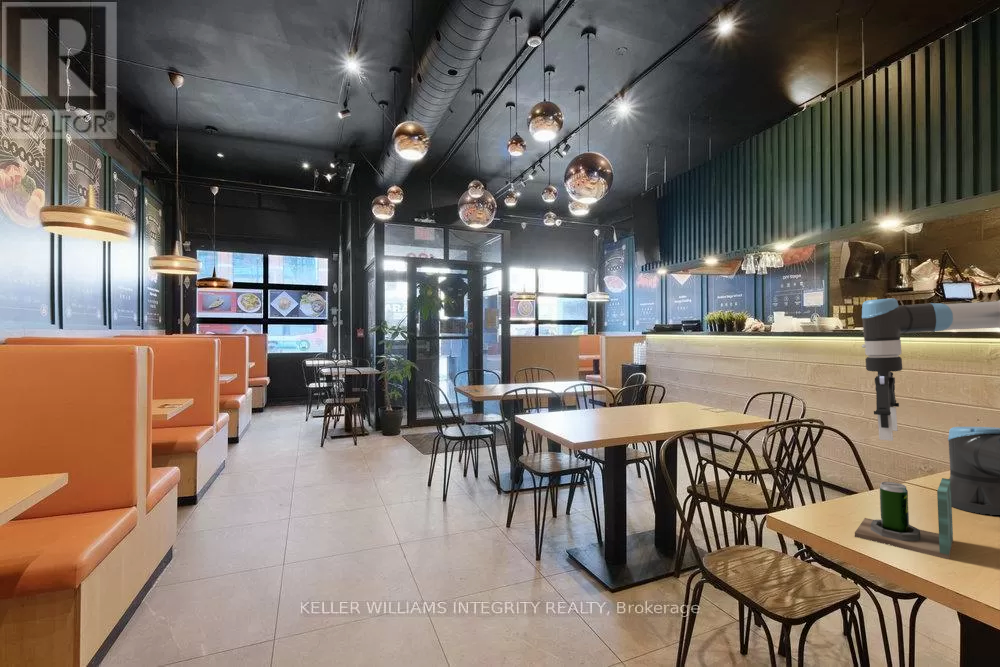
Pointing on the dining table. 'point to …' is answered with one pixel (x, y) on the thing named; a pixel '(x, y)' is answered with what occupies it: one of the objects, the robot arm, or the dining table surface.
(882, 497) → the green drink can
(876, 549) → the dining table surface
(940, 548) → the seat plate
